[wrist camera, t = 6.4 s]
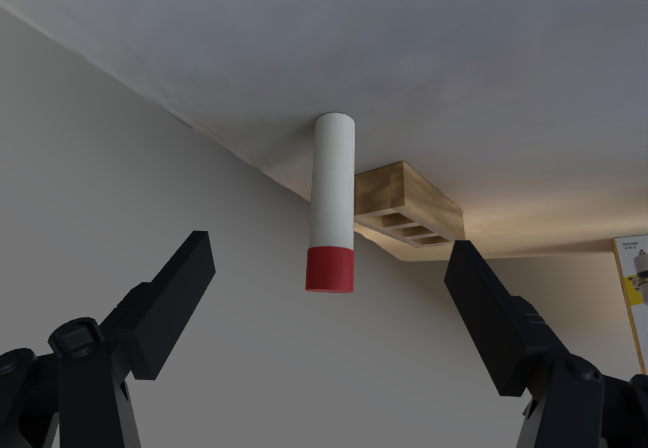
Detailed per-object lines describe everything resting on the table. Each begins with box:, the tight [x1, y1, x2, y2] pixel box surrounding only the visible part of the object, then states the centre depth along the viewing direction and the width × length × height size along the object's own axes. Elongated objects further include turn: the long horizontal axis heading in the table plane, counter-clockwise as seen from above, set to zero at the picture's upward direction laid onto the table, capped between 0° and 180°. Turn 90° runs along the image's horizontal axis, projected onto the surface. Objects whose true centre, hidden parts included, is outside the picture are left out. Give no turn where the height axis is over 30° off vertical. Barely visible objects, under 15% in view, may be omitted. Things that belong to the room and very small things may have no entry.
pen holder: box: [354, 161, 465, 248], centre depth 40 cm, size 8×20×5 cm, turn 41°
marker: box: [305, 113, 355, 293], centre depth 24 cm, size 4×4×14 cm
